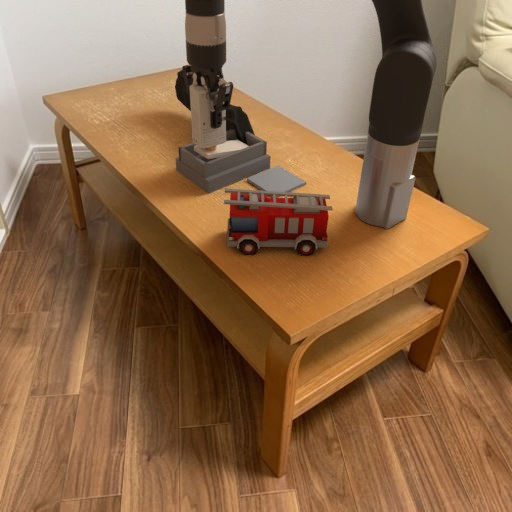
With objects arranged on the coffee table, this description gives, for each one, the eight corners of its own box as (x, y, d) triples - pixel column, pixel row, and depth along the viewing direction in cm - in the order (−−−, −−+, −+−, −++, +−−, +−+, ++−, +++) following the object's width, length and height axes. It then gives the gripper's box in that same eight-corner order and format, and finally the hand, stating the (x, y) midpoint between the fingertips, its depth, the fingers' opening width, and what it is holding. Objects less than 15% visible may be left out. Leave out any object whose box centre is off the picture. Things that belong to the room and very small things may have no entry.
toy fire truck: (225, 226, 106) (225, 181, 99) (323, 227, 106) (328, 183, 100) (224, 256, 99) (223, 209, 92) (328, 257, 99) (335, 210, 93)
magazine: (258, 118, 119) (178, 43, 130) (246, 125, 118) (167, 49, 129) (258, 167, 134) (186, 96, 145) (247, 174, 133) (176, 102, 144)
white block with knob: (236, 143, 125) (238, 133, 123) (251, 152, 122) (252, 141, 121) (193, 150, 117) (194, 139, 116) (207, 159, 114) (209, 147, 113)
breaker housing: (236, 148, 130) (236, 124, 127) (270, 168, 123) (271, 143, 120) (176, 170, 122) (174, 145, 118) (208, 193, 115) (207, 167, 111)
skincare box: (201, 150, 113) (198, 93, 105) (191, 141, 116) (187, 85, 108) (227, 142, 116) (226, 86, 108) (216, 134, 118) (215, 79, 111)
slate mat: (306, 184, 118) (306, 181, 118) (274, 198, 114) (275, 196, 113) (278, 167, 123) (278, 165, 123) (247, 180, 119) (247, 178, 118)
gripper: (246, 43, 100) (244, 130, 111) (199, 24, 108) (202, 107, 119) (212, 51, 96) (214, 141, 107) (167, 31, 105) (173, 115, 115)
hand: (208, 122), depth 113 cm, fingers closed on skincare box, 4 cm apart
